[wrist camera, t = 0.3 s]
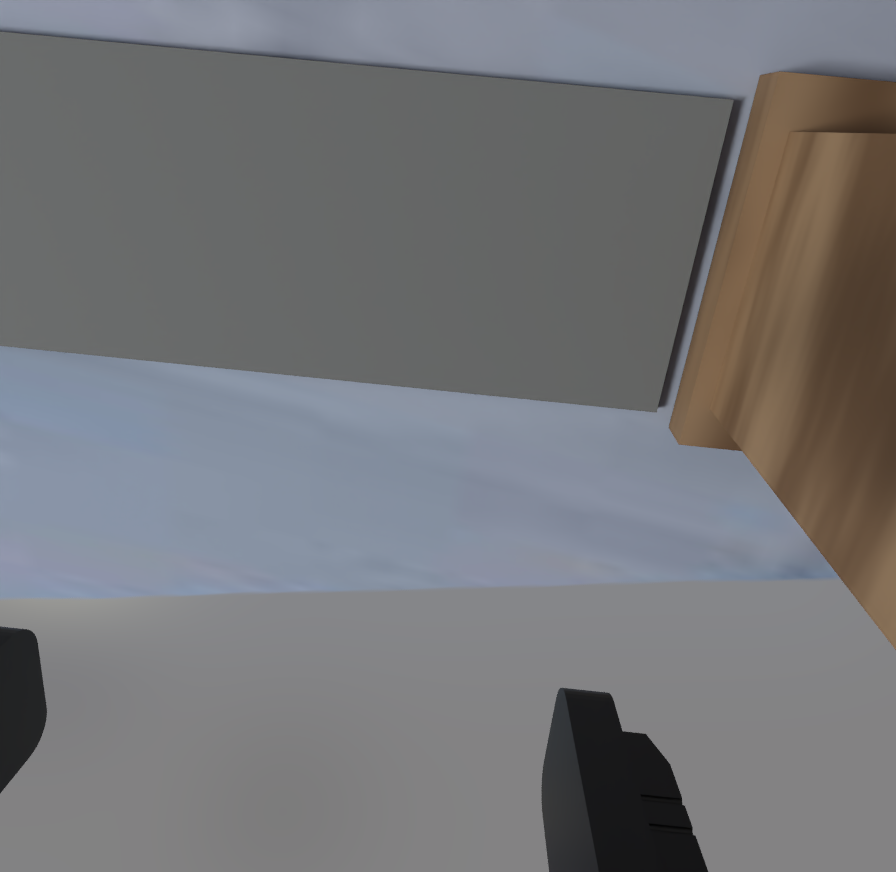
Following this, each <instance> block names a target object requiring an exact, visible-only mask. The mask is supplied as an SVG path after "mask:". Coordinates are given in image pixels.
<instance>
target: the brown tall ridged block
mask: <svg viewBox="0 0 896 872" xmlns="http://www.w3.org/2000/svg"><path fill="white" fill-rule="evenodd" d="M669 429H670V430H671V432H672V434H673V435H674V437H675V439H676V440H677V442H678V444H679V445H689V446H699V447H709V448H718V449H728V450H738V451H743V453H744V454H745V455H746V457H747V458H748V459H749V460H750V462H751V463H752V464H753V466H754V467H755V468H756V470H757V471H758V472H759V473H760V475H761V476H762V477H763V479H764V480H765V481H766V482H767V484H768V485H769V486H770V488H771V489H772V490H773V492H774V493H775V494H776V495H777V497H778V498H779V499H780V501H781V502H782V503H783V504H784V506H785V507H786V508H787V510H788V511H789V512H790V514H791V515H792V516H793V517H794V519H795V520H796V521H797V523H798V524H799V525H800V527H801V528H802V529H803V530H804V532H805V533H806V534H807V536H808V537H809V538H810V539H811V541H812V542H813V543H814V545H815V546H816V547H817V549H818V550H819V551H820V552H821V554H822V555H823V556H824V558H825V559H826V560H827V562H828V563H829V564H830V565H831V567H832V568H833V569H834V571H835V572H836V573H837V574H838V576H839V577H840V578H841V580H842V581H843V582H844V584H845V585H846V586H847V587H848V588H849V590H850V591H851V593H852V594H853V595H854V596H855V598H856V599H857V600H858V602H859V603H860V604H861V606H862V607H863V608H864V609H865V611H866V612H867V613H868V615H869V616H870V617H871V619H872V620H873V621H874V622H875V624H876V625H877V626H878V628H879V629H880V630H881V631H882V633H883V634H884V635H885V637H886V638H887V639H888V640H889V641H890V643H891V644H892V645H893V647H894V648H895V650H896V82H888V81H877V80H866V79H856V78H845V77H834V76H823V75H812V74H801V73H790V72H775V73H769V74H764V75H760V78H759V82H758V85H757V89H756V93H755V97H754V101H753V105H752V109H751V112H750V116H749V120H748V124H747V128H746V132H745V135H744V139H743V143H742V147H741V151H740V155H739V159H738V162H737V166H736V170H735V174H734V178H733V182H732V186H731V189H730V193H729V197H728V201H727V205H726V209H725V213H724V216H723V220H722V224H721V228H720V232H719V236H718V240H717V243H716V247H715V251H714V255H713V259H712V263H711V266H710V270H709V274H708V278H707V282H706V286H705V290H704V293H703V297H702V301H701V305H700V309H699V313H698V317H697V320H696V324H695V328H694V332H693V336H692V340H691V344H690V347H689V351H688V355H687V359H686V363H685V367H684V371H683V374H682V378H681V382H680V386H679V390H678V394H677V398H676V401H675V405H674V409H673V413H672V417H671V421H670V424H669Z"/></svg>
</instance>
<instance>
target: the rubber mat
mask: <svg viewBox="0 0 896 872" xmlns="http://www.w3.org/2000/svg"><path fill="white" fill-rule="evenodd" d="M733 101H734V100H730V99H719V98H708V97H698V96H687V95H676V94H665V93H655V92H644V91H633V90H622V89H612V88H601V87H590V86H579V85H569V84H558V83H547V82H536V81H526V80H515V79H504V78H493V77H483V76H472V75H461V74H450V73H440V72H429V71H418V70H407V69H397V68H386V67H375V66H364V65H354V64H343V63H332V62H321V61H311V60H300V59H289V58H278V57H268V56H257V55H246V54H235V53H225V52H214V51H203V50H192V49H182V48H171V47H160V46H149V45H139V44H128V43H117V42H106V41H96V40H85V39H74V38H63V37H53V36H42V35H31V34H20V33H10V32H0V346H8V347H18V348H28V349H38V350H48V351H57V352H67V353H77V354H87V355H97V356H107V357H117V358H126V359H136V360H146V361H156V362H166V363H176V364H185V365H195V366H205V367H215V368H225V369H235V370H244V371H254V372H264V373H274V374H284V375H294V376H303V377H313V378H323V379H333V380H343V381H353V382H362V383H372V384H382V385H392V386H402V387H412V388H421V389H431V390H441V391H451V392H461V393H471V394H480V395H490V396H500V397H510V398H520V399H530V400H540V401H549V402H559V403H569V404H579V405H589V406H599V407H608V408H618V409H628V410H638V411H648V412H657V408H658V404H659V400H660V396H661V392H662V388H663V384H664V380H665V376H666V372H667V368H668V364H669V360H670V356H671V352H672V348H673V344H674V340H675V336H676V332H677V328H678V324H679V320H680V316H681V312H682V307H683V303H684V299H685V295H686V291H687V287H688V283H689V279H690V275H691V271H692V267H693V263H694V259H695V255H696V251H697V247H698V243H699V239H700V235H701V231H702V227H703V223H704V219H705V215H706V211H707V207H708V202H709V198H710V194H711V190H712V186H713V182H714V178H715V174H716V170H717V166H718V162H719V158H720V154H721V150H722V146H723V142H724V138H725V134H726V130H727V126H728V122H729V118H730V114H731V110H732V106H733Z"/></svg>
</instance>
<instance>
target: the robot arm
mask: <svg viewBox="0 0 896 872" xmlns="http://www.w3.org/2000/svg"><path fill="white" fill-rule="evenodd" d="M46 715H47V708H46V700H45V693H44V687H43V679H42V672H41V664H40V657H39V650H38V643H37V639H36V636H35V634H34V633H33V632H32V631H30V630H27V629H17V628H8V627H0V793H1V792H2V790H3V789H4V788H5V787H6V785H7V784H8V783H9V782H10V780H11V779H12V778H13V777H14V776H15V774H16V773H17V772H18V771H19V769H20V768H21V767H22V766H23V765H24V763H25V762H26V761H27V760H28V758H29V757H30V756H31V754H32V753H33V752H34V750H35V748H36V747H37V745H38V743H39V741H40V738H41V736H42V733H43V730H44V727H45V722H46ZM542 812H543V821H544V830H545V839H546V848H547V856H548V864H549V872H708V870H707V867H706V865H705V861H704V859H703V856H702V853H701V850H700V847H699V845H698V842H697V839H696V836H694V835H693V833H692V825H691V822H690V819H689V816H688V814H687V811H686V808H685V806H683V805H682V797H681V794H680V791H679V789H678V785H677V783H676V780H675V777H674V775H673V771H672V769H671V766H670V764H669V763H668V761H667V760H666V759H665V757H664V756H663V755H662V754H661V753H660V751H659V750H658V749H657V747H656V746H655V745H654V744H653V743H652V741H651V740H650V739H649V738H648V736H647V735H646V734H640V733H632V732H623V731H622V728H621V725H620V722H619V718H618V714H617V711H616V708H615V704H614V701H613V698H612V696H611V695H610V694H609V693H605V692H596V691H586V690H576V689H567V688H560V689H559V691H558V694H557V697H556V702H555V708H554V713H553V718H552V723H551V728H550V734H549V739H548V744H547V749H546V754H545V759H544V765H543V773H542Z"/></svg>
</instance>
